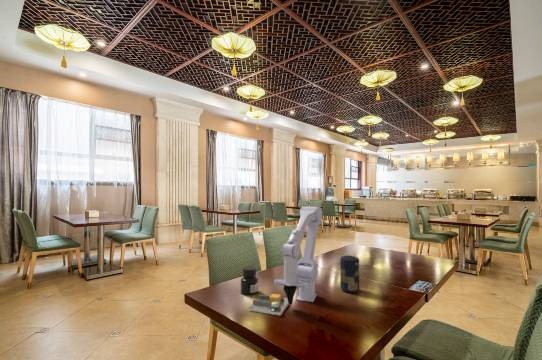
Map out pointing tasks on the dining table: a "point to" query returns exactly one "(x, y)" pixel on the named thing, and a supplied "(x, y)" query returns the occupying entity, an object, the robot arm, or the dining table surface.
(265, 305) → the panel
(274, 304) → the button
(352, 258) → the canister
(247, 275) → the ink bottle
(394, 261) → the dining table surface
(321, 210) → the robot arm
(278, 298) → the toggle
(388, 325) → the dining table surface
